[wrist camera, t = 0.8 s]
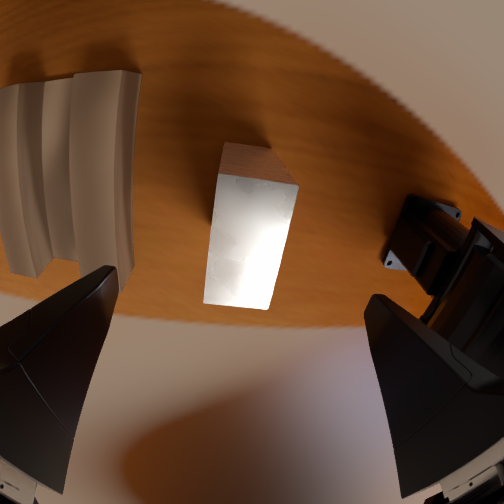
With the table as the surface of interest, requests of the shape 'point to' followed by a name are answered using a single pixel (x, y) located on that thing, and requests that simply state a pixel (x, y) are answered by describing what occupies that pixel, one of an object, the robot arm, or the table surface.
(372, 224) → the table surface
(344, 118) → the table surface
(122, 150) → the grey u-channel
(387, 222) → the table surface
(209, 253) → the brushed metal bar
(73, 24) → the table surface
